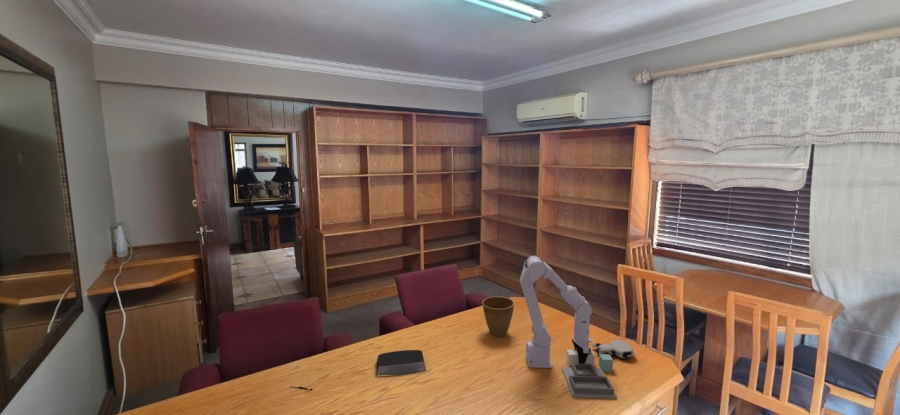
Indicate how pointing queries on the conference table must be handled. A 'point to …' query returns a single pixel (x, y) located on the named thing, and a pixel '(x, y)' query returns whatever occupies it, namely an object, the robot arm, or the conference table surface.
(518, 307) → the conference table surface
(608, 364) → the teal block
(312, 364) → the conference table surface
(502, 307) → the plant pot
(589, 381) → the jig
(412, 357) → the external hard drive
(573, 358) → the beige rectangular block
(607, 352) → the robot toy
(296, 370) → the conference table surface
